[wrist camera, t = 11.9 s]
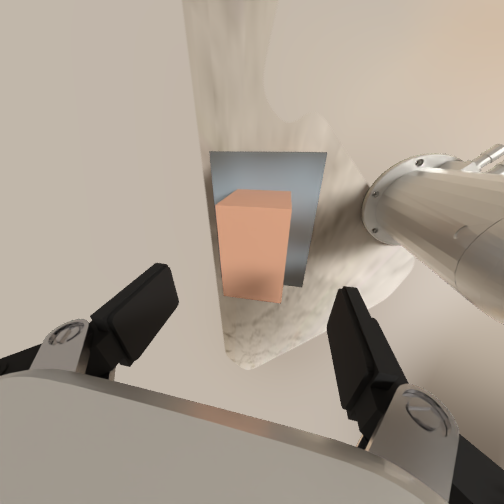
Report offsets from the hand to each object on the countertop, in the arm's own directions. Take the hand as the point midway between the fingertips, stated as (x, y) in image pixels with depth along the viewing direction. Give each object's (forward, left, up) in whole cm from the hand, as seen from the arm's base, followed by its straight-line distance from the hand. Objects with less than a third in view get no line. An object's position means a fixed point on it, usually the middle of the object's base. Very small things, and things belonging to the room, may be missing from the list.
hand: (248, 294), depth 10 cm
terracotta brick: (0, 0, -10) cm, 10 cm away
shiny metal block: (0, 0, -22) cm, 22 cm away
